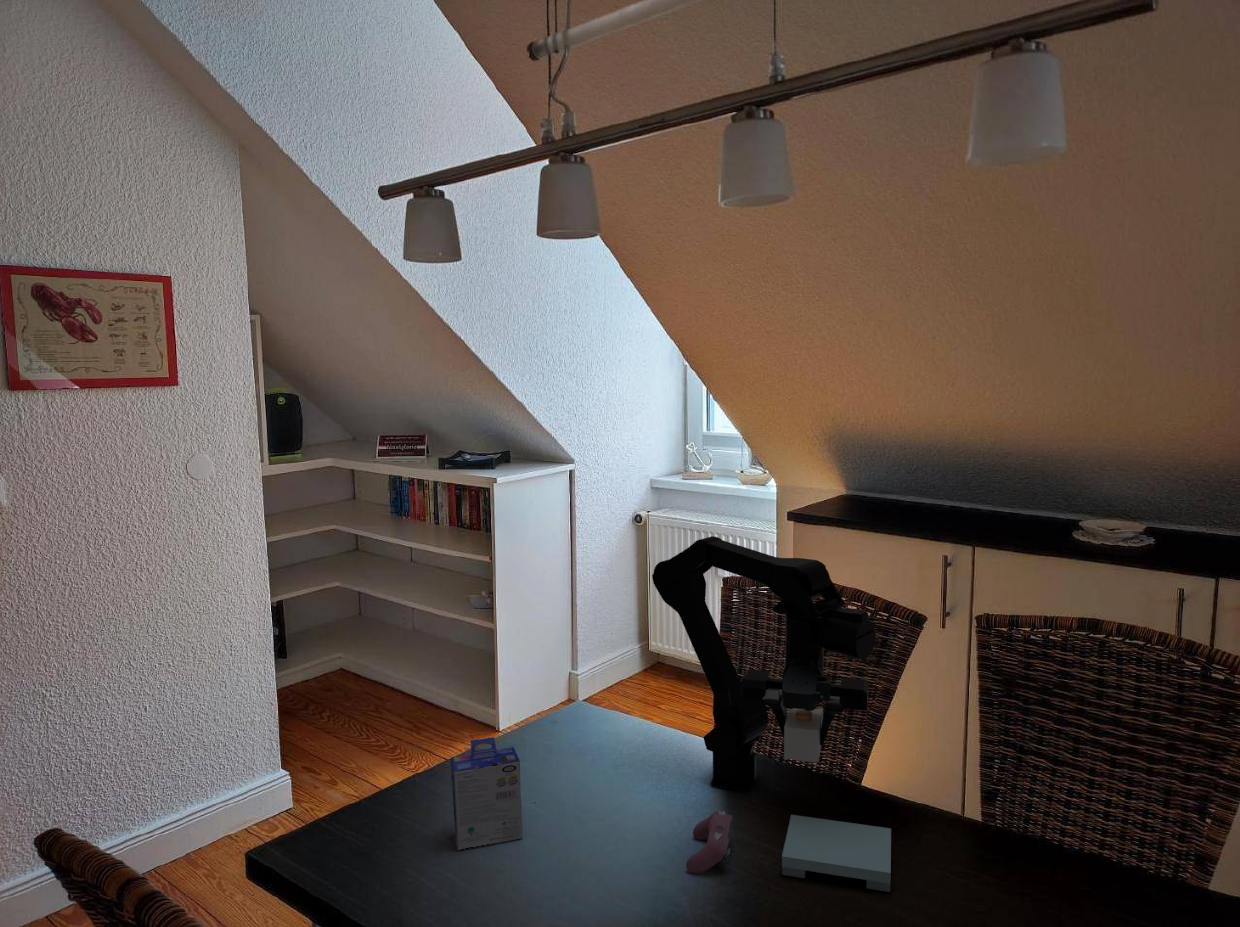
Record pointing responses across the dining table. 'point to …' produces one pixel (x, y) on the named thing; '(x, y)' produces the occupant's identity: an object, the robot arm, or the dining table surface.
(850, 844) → the teal stand
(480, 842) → the ink cartridge box
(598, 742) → the dining table surface
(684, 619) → the robot arm
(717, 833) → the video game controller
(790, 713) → the grey housing
